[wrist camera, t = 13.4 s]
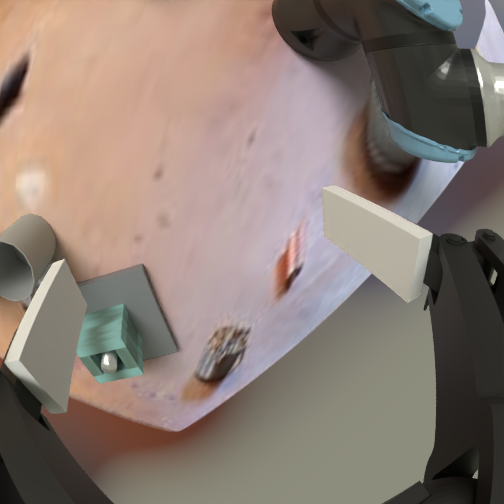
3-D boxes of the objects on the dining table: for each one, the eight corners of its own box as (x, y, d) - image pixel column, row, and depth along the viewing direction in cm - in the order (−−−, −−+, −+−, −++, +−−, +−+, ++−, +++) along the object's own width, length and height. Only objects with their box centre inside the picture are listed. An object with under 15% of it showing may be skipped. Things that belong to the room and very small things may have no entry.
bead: (123, 303, 40) (120, 337, 33) (141, 339, 44) (143, 374, 37) (81, 315, 39) (73, 349, 32) (102, 349, 42) (99, 383, 36)
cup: (10, 213, 30) (-22, 239, 21) (54, 214, 32) (28, 241, 24) (16, 264, 33) (-8, 298, 24) (58, 266, 36) (39, 304, 27)
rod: (115, 321, 41) (112, 361, 33) (121, 331, 42) (119, 371, 35) (103, 324, 41) (97, 364, 33) (109, 334, 42) (105, 374, 34)
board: (142, 263, 40) (142, 268, 39) (177, 346, 49) (178, 351, 48) (47, 292, 36) (44, 297, 35) (93, 366, 45) (93, 371, 44)
